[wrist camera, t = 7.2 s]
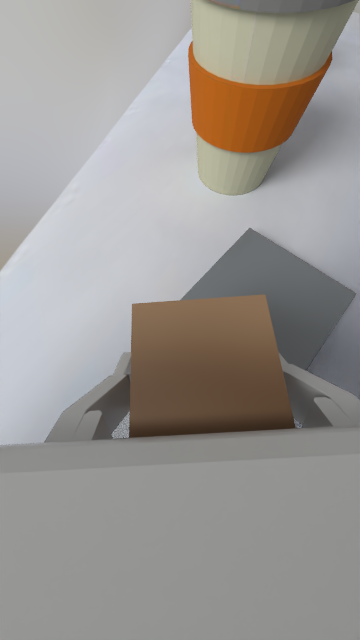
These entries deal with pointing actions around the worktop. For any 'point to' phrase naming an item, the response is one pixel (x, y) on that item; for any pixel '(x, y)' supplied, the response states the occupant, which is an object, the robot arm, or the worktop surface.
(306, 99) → the reusable coffee cup
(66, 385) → the worktop surface
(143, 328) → the walnut block
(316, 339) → the slate coaster
